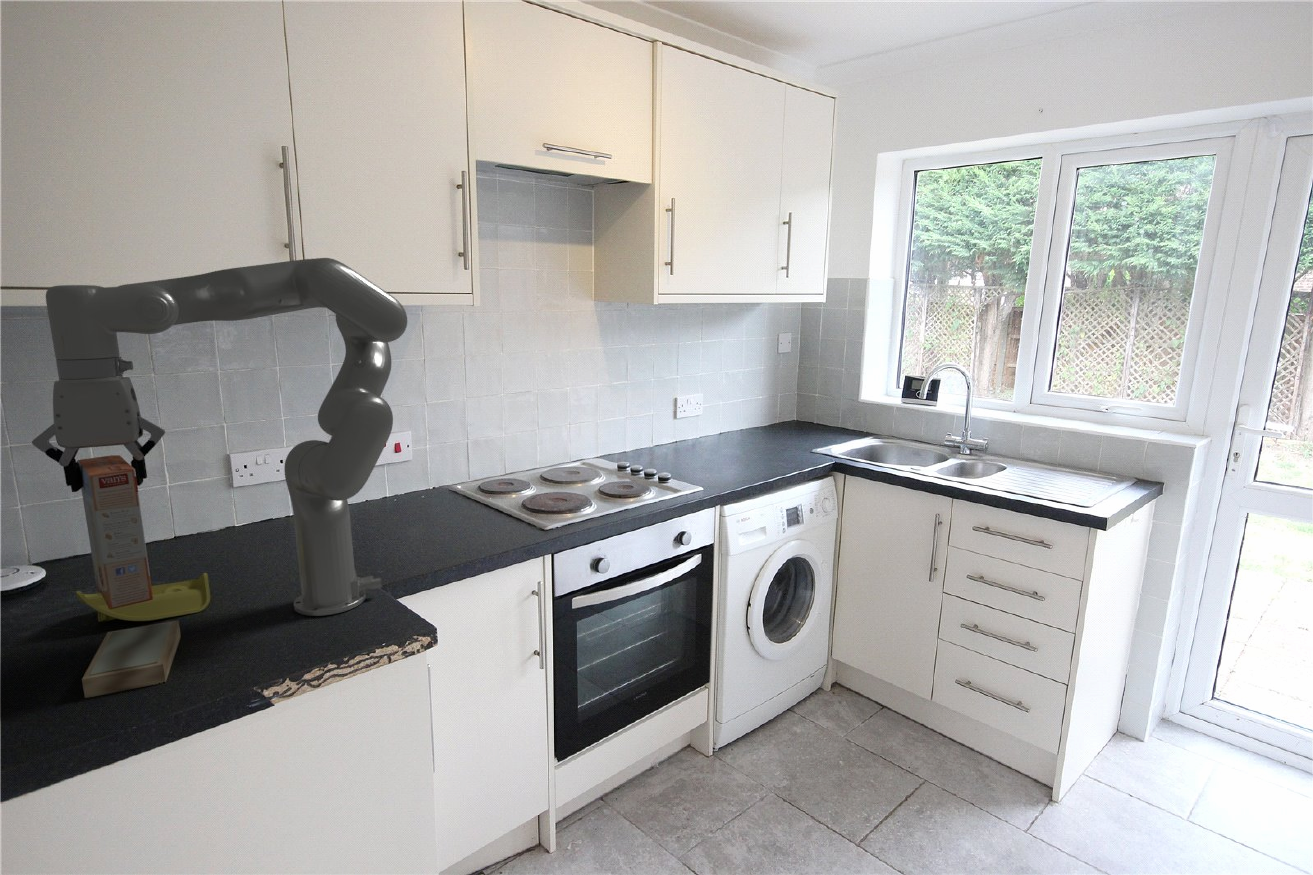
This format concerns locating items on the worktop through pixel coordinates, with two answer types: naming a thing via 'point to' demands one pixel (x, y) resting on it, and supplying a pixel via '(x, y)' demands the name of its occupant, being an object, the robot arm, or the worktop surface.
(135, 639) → the stand
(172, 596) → the plastic component
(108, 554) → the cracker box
